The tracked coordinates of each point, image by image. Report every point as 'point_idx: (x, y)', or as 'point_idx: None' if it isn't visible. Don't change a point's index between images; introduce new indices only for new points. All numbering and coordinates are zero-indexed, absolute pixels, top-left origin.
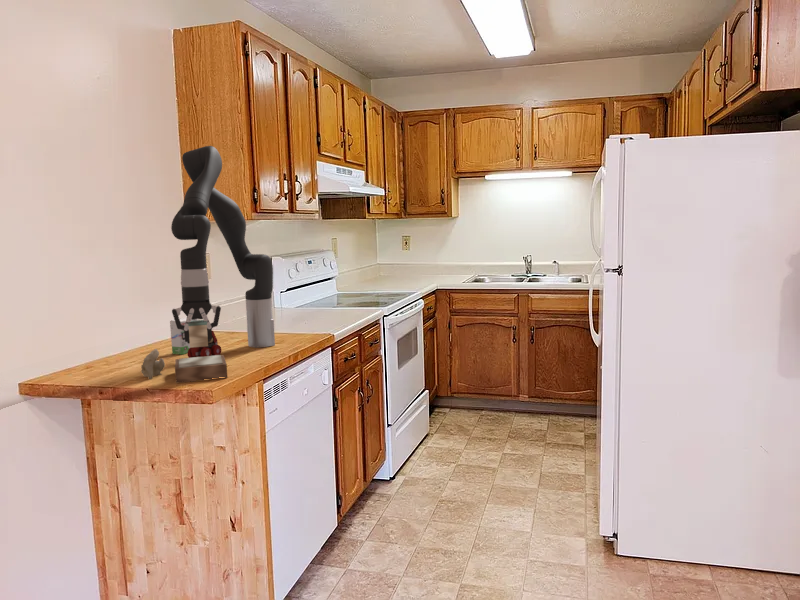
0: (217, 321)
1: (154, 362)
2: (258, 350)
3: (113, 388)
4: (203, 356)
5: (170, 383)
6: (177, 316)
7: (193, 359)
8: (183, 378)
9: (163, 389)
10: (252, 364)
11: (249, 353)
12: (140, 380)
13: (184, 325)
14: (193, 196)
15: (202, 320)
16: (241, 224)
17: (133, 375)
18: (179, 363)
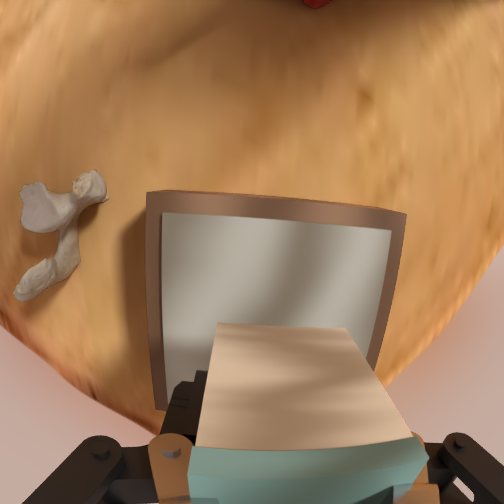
0: (449, 501)
1: (56, 227)
2: (486, 3)
3: (9, 329)
4: (311, 4)
5: (149, 370)
6: None
7: (239, 280)
8: None
9: (138, 421)
10: (471, 209)
11: (468, 17)
12: None
13: (154, 482)
14: None
15: (372, 493)
16: None
17: (25, 168)
18: (166, 341)
